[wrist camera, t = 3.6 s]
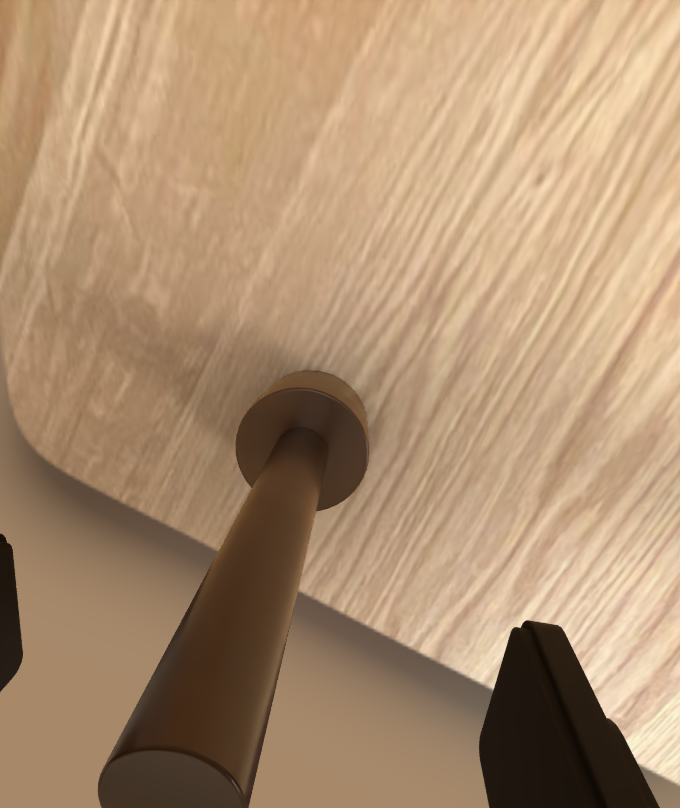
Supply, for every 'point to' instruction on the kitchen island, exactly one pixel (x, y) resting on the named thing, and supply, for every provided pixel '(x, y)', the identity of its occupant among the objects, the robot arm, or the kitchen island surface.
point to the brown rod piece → (241, 607)
